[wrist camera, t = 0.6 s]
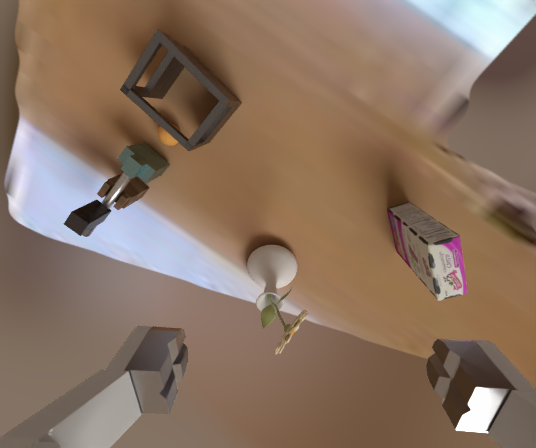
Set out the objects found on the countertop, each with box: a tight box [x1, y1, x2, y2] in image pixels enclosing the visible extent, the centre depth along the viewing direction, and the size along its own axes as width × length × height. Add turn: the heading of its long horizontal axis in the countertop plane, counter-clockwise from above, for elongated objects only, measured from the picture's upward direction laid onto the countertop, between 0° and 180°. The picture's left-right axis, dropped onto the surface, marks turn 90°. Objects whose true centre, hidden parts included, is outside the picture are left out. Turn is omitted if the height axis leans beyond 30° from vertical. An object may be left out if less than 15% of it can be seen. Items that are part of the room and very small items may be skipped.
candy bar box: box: [388, 202, 468, 301], centre depth 48 cm, size 11×5×16 cm, turn 22°
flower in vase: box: [247, 245, 308, 354], centre depth 48 cm, size 13×11×25 cm
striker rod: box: [64, 142, 170, 237], centre depth 47 cm, size 20×6×14 cm, turn 136°
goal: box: [120, 29, 241, 151], centre depth 41 cm, size 10×12×12 cm
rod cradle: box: [97, 174, 149, 210], centre depth 50 cm, size 3×5×8 cm, turn 47°
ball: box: [158, 123, 180, 146], centre depth 48 cm, size 4×4×4 cm
